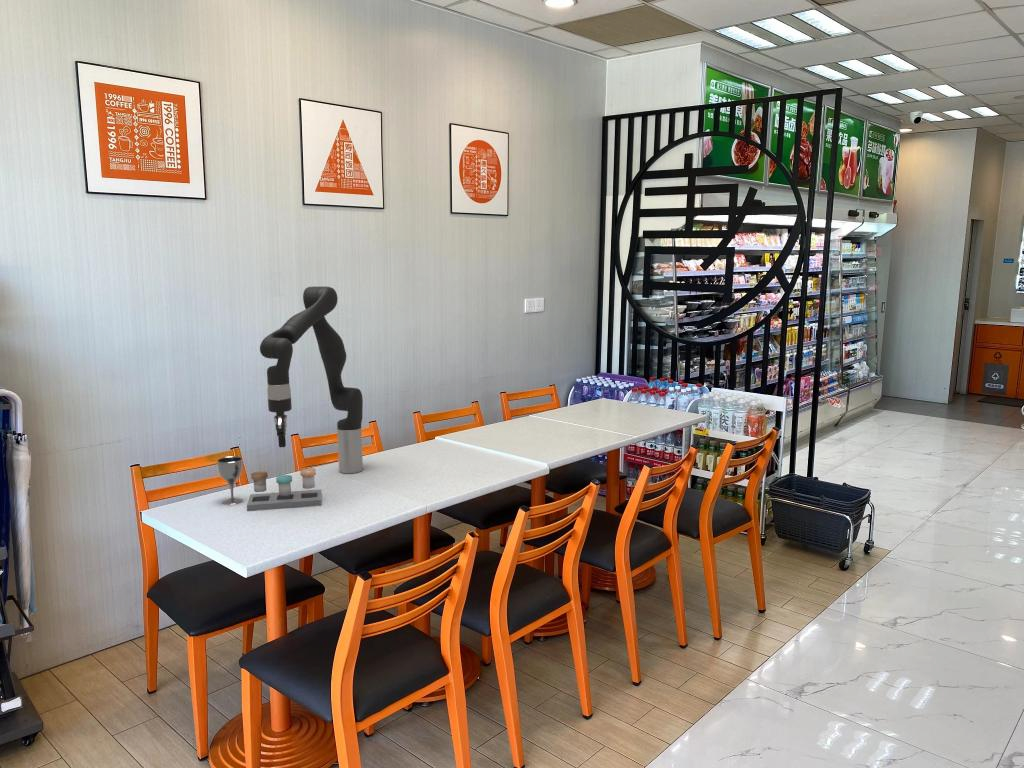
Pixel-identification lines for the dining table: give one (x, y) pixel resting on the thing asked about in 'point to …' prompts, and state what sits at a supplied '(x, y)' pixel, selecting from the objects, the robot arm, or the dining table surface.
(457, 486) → the dining table surface
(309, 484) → the terracotta button
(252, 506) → the button board
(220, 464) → the wine glass
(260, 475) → the walnut button
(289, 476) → the teal button
